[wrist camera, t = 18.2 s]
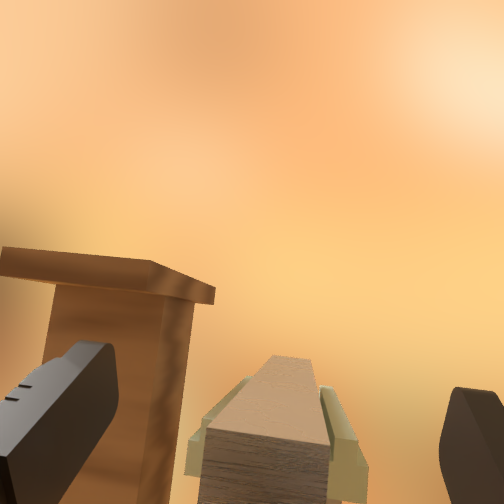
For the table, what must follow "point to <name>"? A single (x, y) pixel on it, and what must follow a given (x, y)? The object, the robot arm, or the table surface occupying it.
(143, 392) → the walnut stand
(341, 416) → the cradle stand
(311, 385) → the tan wooden bar
